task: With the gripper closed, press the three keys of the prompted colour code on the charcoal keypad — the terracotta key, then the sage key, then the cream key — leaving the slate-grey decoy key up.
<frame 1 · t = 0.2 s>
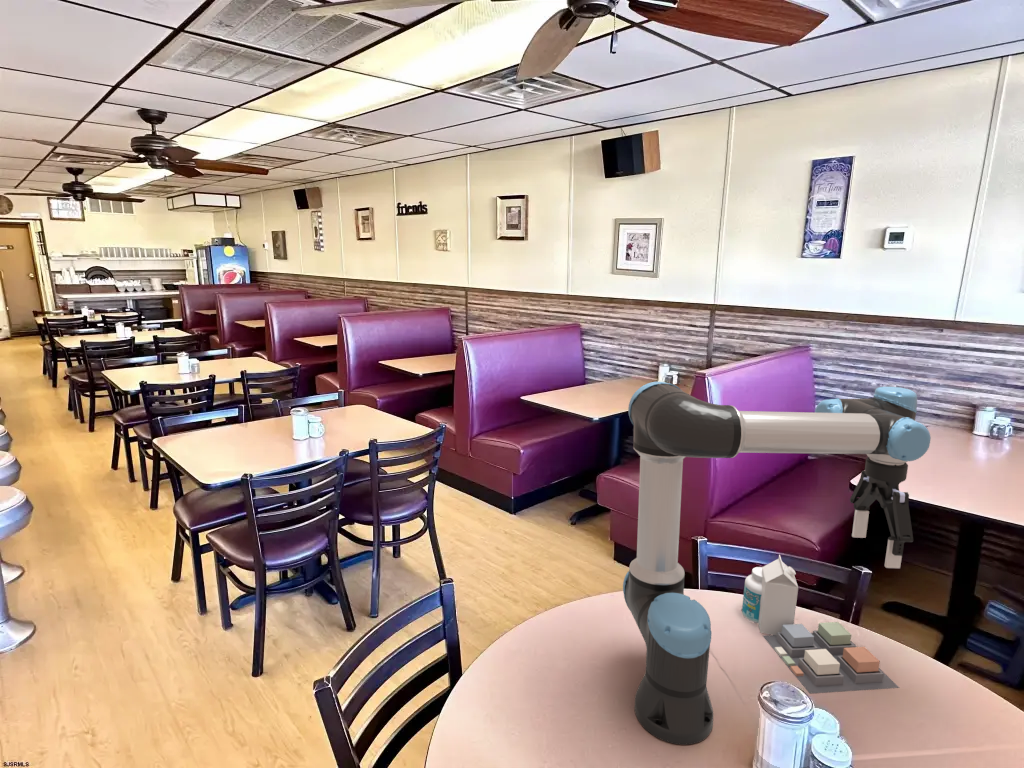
hand: (874, 551, 125), 27 cm above the table, fingers open, 13 cm apart
cream key: (821, 661, 122), point 4 cm above the table, slide at 0.0 cm
terracotta key: (860, 659, 123), point 4 cm above the table, slide at 0.0 cm
keypad: (826, 663, 128), on the table
slate key: (797, 635, 131), point 4 cm above the table, slide at 0.0 cm
sage key: (834, 633, 132), point 4 cm above the table, slide at 0.0 cm
pill bottle: (756, 619, 145), on the table, touching milk carton
milk carton: (773, 632, 140), on the table, touching keypad, pill bottle
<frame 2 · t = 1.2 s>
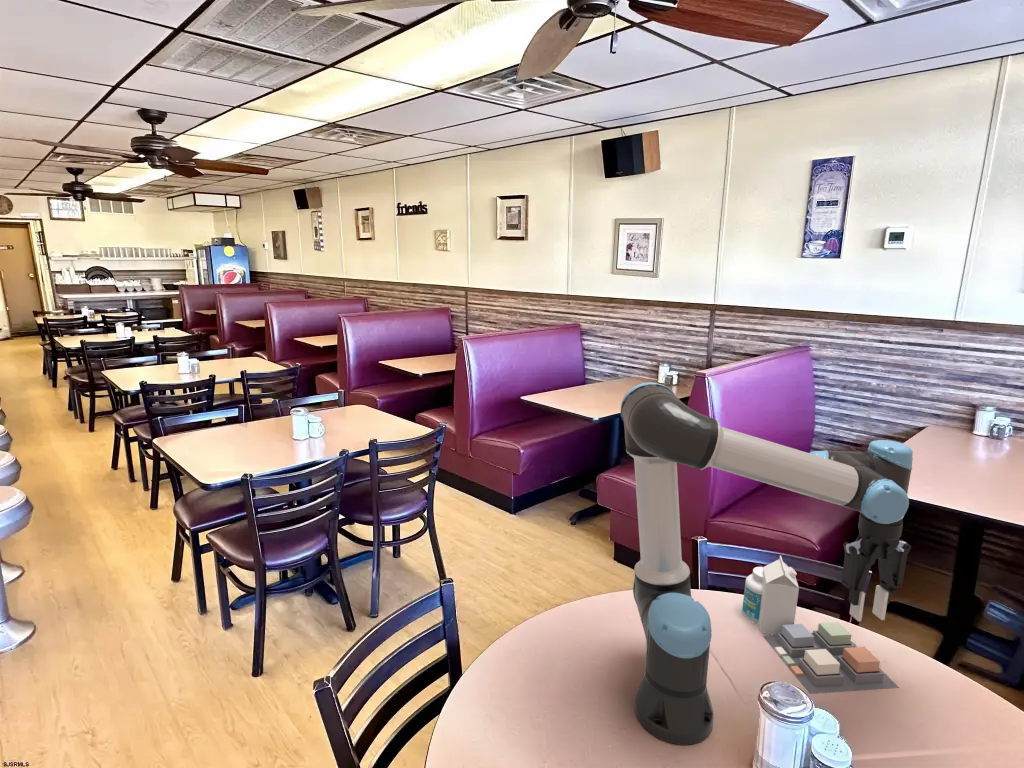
hand: (866, 616, 121), 15 cm above the table, fingers open, 4 cm apart
nothing on the table moved.
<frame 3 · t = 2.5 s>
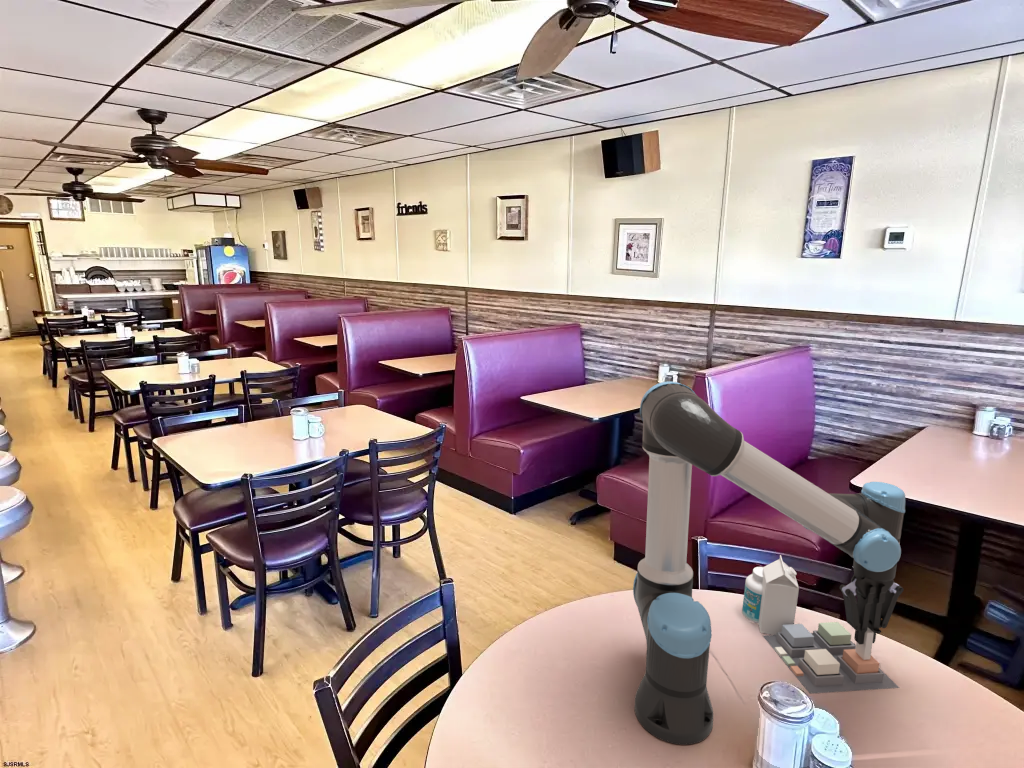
hand: (862, 655, 123), 5 cm above the table, fingers closed
terracotta key: (860, 661, 123), point 4 cm above the table, slide at 0.5 cm, touching gripper
everything else where it was.
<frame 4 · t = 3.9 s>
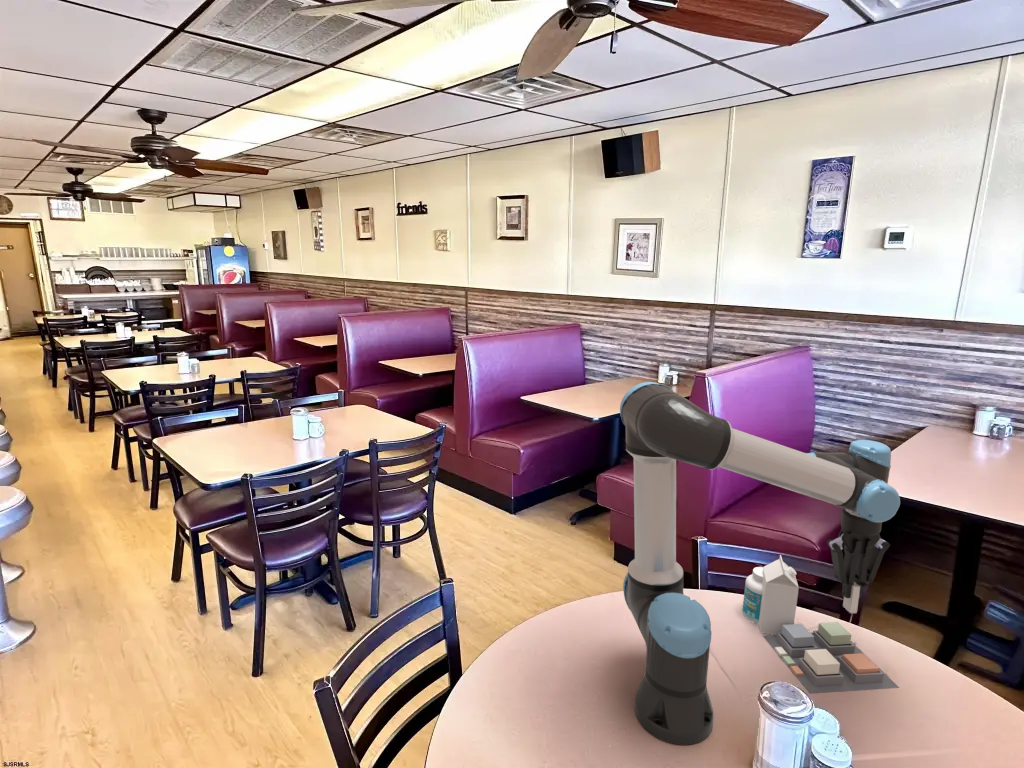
hand: (849, 609, 127), 13 cm above the table, fingers closed
terracotta key: (859, 665, 123), point 3 cm above the table, slide at 1.6 cm
everything else where it was.
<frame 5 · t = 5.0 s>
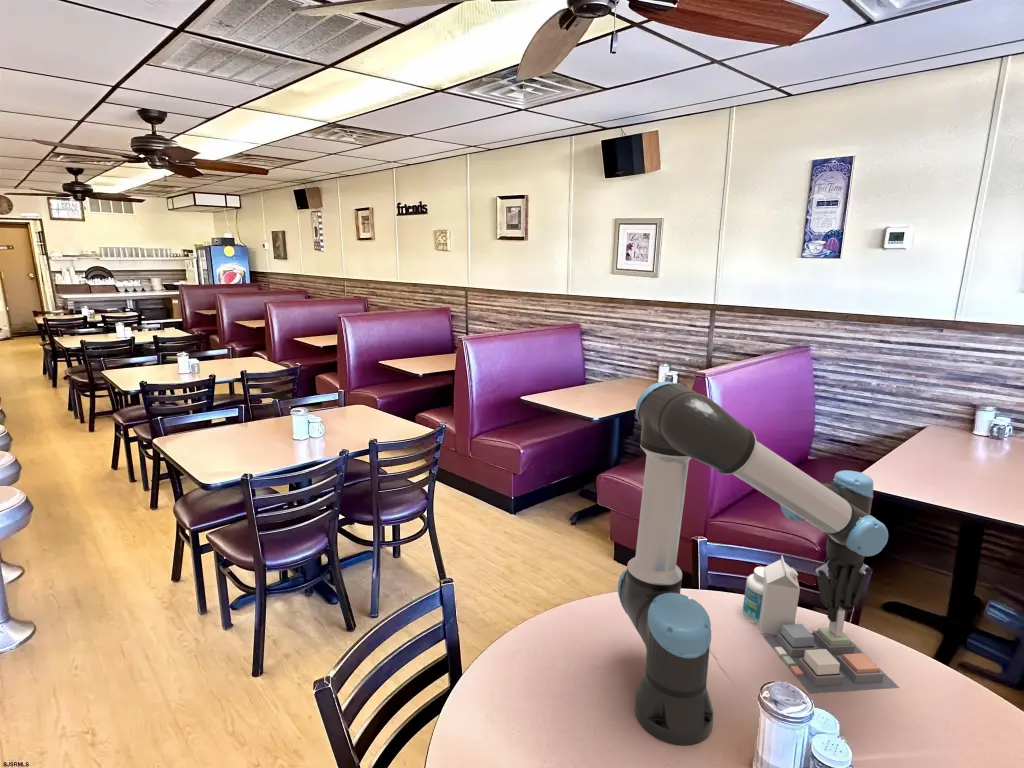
hand: (835, 632, 132), 4 cm above the table, fingers closed
sage key: (833, 638, 132), point 3 cm above the table, slide at 1.3 cm, touching gripper
everything else where it was.
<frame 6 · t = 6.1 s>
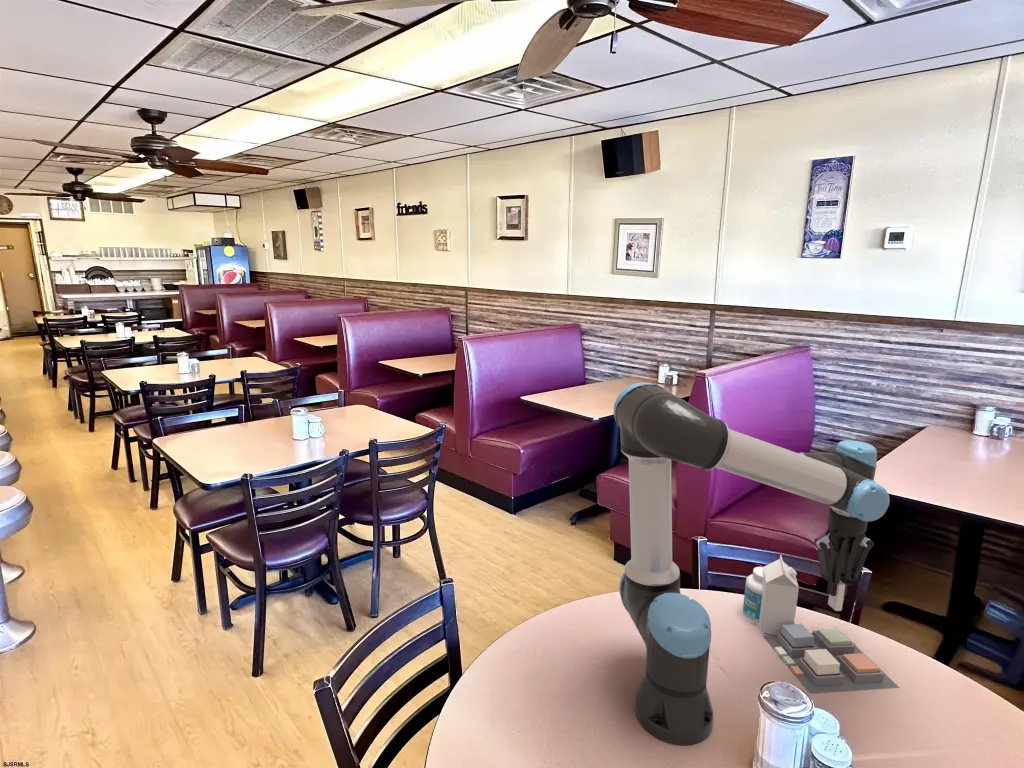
hand: (834, 607, 129), 12 cm above the table, fingers closed
sage key: (833, 639, 132), point 3 cm above the table, slide at 1.6 cm
everything else where it was.
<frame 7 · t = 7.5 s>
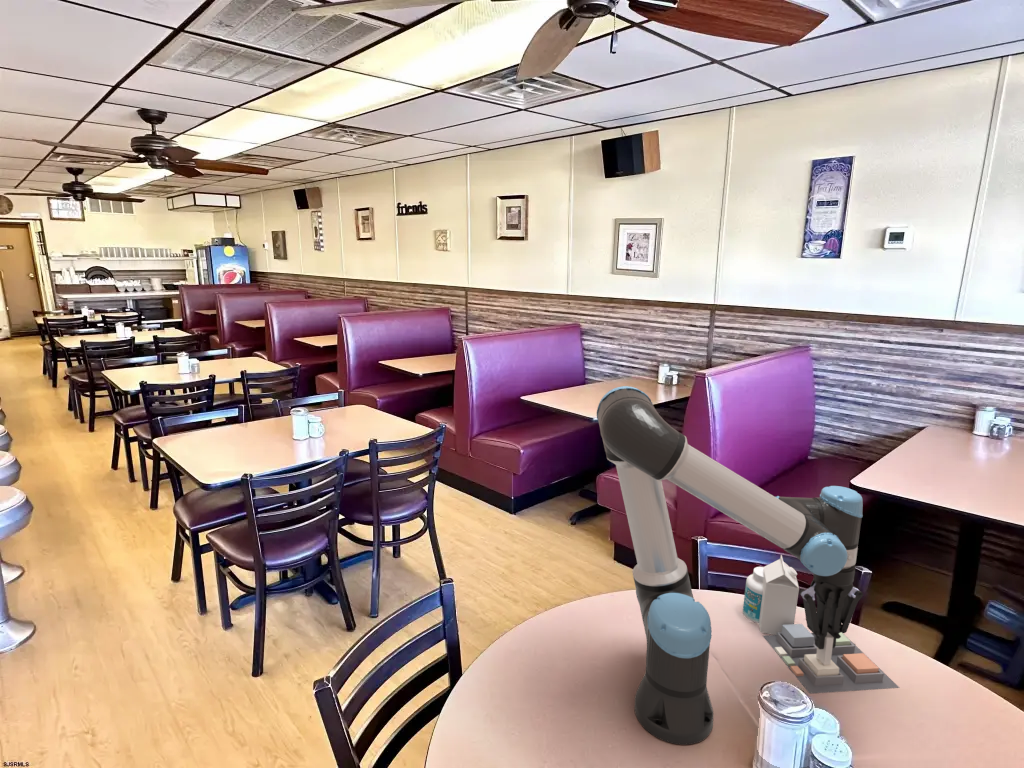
hand: (823, 660, 122), 5 cm above the table, fingers closed
cream key: (821, 666, 123), point 3 cm above the table, slide at 1.1 cm, touching gripper
everything else where it was.
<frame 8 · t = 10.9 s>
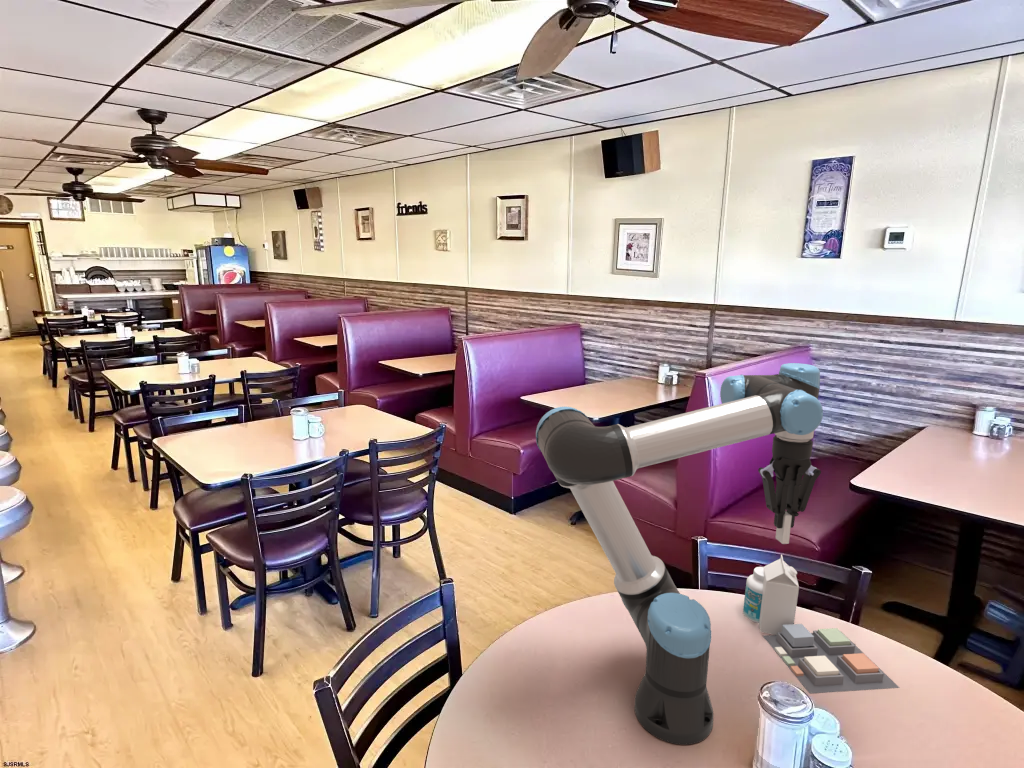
hand: (782, 540, 124), 29 cm above the table, fingers closed
cream key: (820, 668, 123), point 3 cm above the table, slide at 1.7 cm
everything else where it was.
at the end: terracotta key slide at 1.6 cm; sage key slide at 1.6 cm; cream key slide at 1.7 cm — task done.
